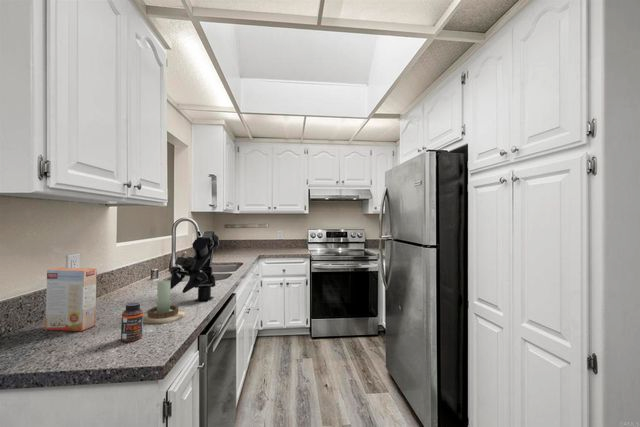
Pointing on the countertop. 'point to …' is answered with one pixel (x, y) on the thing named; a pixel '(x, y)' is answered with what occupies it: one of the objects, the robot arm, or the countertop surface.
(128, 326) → the supplement bottle
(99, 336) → the countertop surface
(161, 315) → the locating collar
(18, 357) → the countertop surface
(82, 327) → the cracker box
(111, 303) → the countertop surface
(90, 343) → the countertop surface
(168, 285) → the flanged peg
